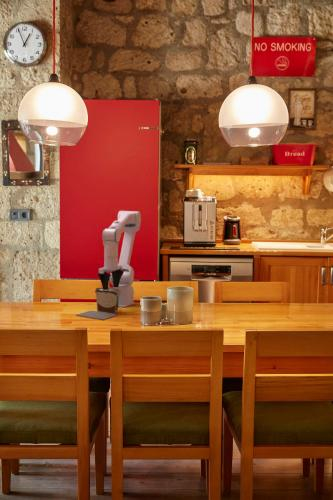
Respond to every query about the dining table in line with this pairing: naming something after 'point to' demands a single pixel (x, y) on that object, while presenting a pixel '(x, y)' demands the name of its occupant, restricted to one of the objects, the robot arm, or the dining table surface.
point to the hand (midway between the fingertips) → (110, 288)
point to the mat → (97, 315)
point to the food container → (107, 300)
